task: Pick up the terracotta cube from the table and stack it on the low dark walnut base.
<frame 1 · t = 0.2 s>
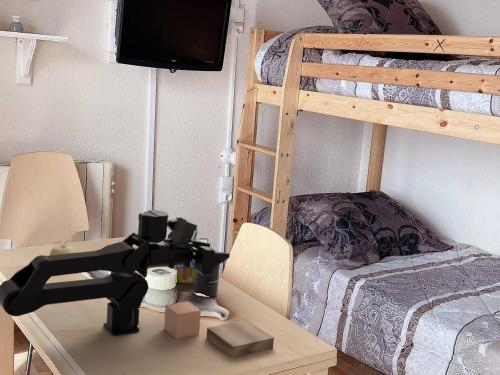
hand: (219, 250, 160), 16 cm above the table, tool horizontal, fingers open, 9 cm apart
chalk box: (189, 279, 186), on the table
walnut base: (239, 342, 147), on the table
supplement bottle: (205, 294, 176), on the table
terracotta cube: (181, 331, 150), on the table
fruit: (62, 268, 187), on the table
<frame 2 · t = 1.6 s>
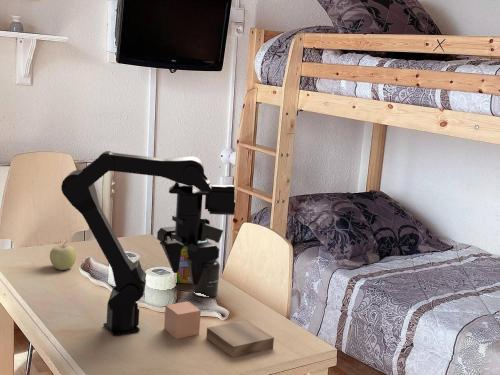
hand: (185, 278, 148), 13 cm above the table, tool pointing down, fingers open, 9 cm apart
nothing on the table moved.
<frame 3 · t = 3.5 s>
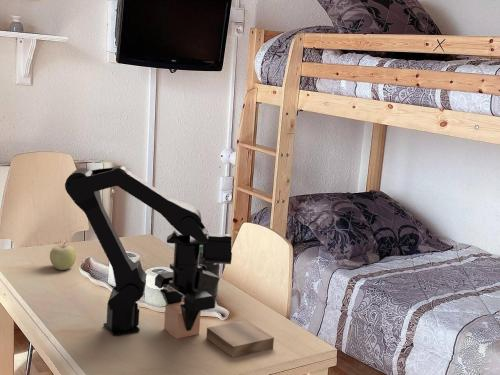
hand: (181, 325, 150), 2 cm above the table, tool pointing down, fingers closed on terracotta cube, 6 cm apart
terracotta cube: (181, 331, 150), on the table, touching gripper
everything else where it was.
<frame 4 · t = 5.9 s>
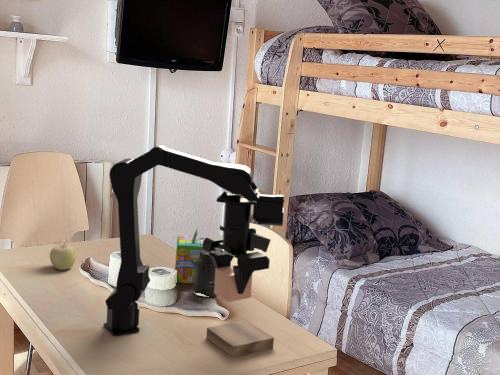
hand: (232, 289, 145), 12 cm above the table, tool pointing down, fingers closed on terracotta cube, 6 cm apart
terracotta cube: (232, 295, 145), point 11 cm above the table, touching gripper
everything else where it was.
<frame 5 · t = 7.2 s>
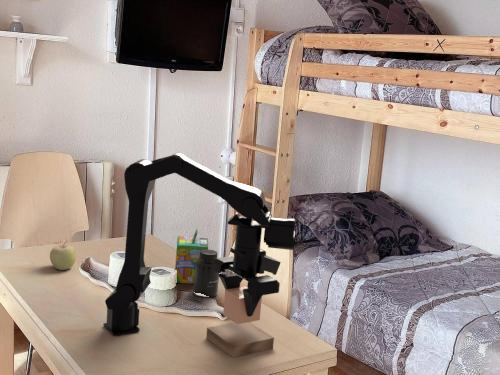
hand: (241, 311, 145), 8 cm above the table, tool pointing down, fingers closed on terracotta cube, 6 cm apart
terracotta cube: (241, 317, 146), point 6 cm above the table, touching gripper
everything else where it was.
when the fingers open (5 cm above the table, at t = 8.2 s): terracotta cube drops 1 cm, resting on walnut base.
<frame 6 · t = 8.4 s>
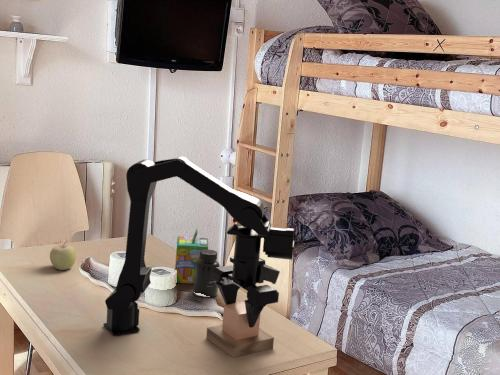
hand: (241, 320, 146), 5 cm above the table, tool pointing down, fingers open, 8 cm apart
terracotta cube: (240, 332, 146), point 2 cm above the table, touching walnut base
everything else where it was.
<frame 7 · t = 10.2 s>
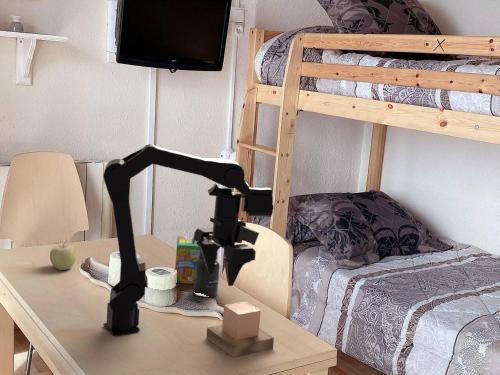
hand: (220, 279, 150), 13 cm above the table, tool pointing down, fingers open, 9 cm apart
nothing on the table moved.
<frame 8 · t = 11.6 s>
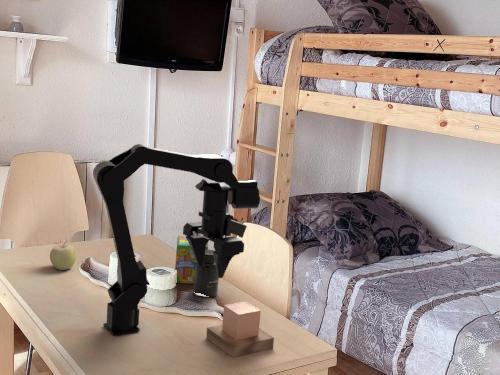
hand: (210, 271, 154), 13 cm above the table, tool pointing down, fingers open, 9 cm apart
nothing on the table moved.
at the end: terracotta cube inside the target area on the walnut base (0.0 cm from its centre), point 2.5 cm above the walnut base's base; terracotta cube tilted 0°; the gripper is holding nothing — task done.
